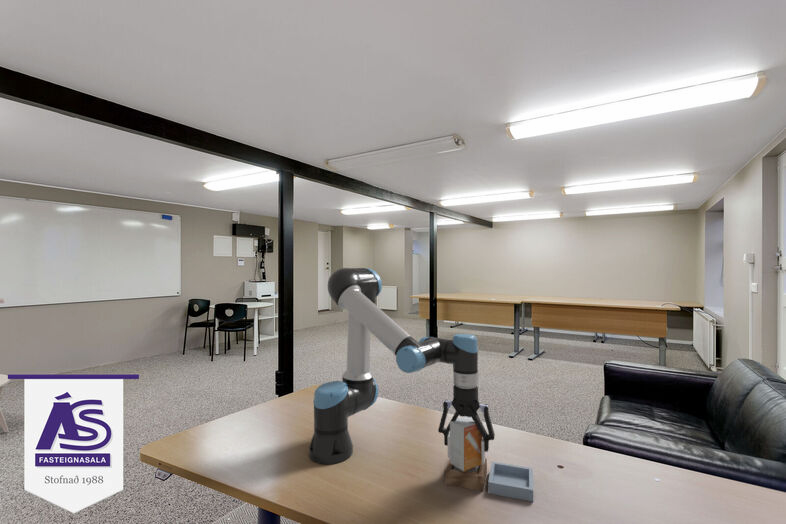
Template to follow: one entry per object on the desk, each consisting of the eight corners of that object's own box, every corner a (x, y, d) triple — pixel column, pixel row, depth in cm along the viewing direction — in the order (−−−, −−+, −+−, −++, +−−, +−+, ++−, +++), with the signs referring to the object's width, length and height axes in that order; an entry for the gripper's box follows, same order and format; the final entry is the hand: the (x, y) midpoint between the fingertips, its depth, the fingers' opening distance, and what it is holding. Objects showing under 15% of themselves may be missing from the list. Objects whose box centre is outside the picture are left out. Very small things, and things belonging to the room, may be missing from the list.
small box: (464, 472, 109) (463, 427, 109) (449, 463, 114) (449, 420, 114) (483, 464, 113) (482, 421, 113) (468, 455, 118) (468, 414, 119)
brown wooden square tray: (445, 483, 110) (445, 470, 110) (452, 465, 120) (452, 453, 121) (483, 491, 106) (483, 476, 106) (486, 471, 117) (486, 458, 117)
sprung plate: (452, 474, 111) (452, 470, 111) (457, 461, 118) (457, 457, 118) (476, 479, 109) (476, 474, 109) (479, 465, 116) (479, 461, 116)
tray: (488, 493, 105) (488, 482, 105) (491, 471, 117) (491, 461, 117) (533, 501, 101) (533, 490, 101) (532, 478, 113) (532, 468, 113)
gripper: (427, 385, 114) (428, 458, 114) (502, 392, 107) (503, 471, 106) (433, 378, 121) (433, 447, 121) (503, 385, 114) (504, 458, 113)
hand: (466, 458), depth 114 cm, fingers closed on small box, 10 cm apart
